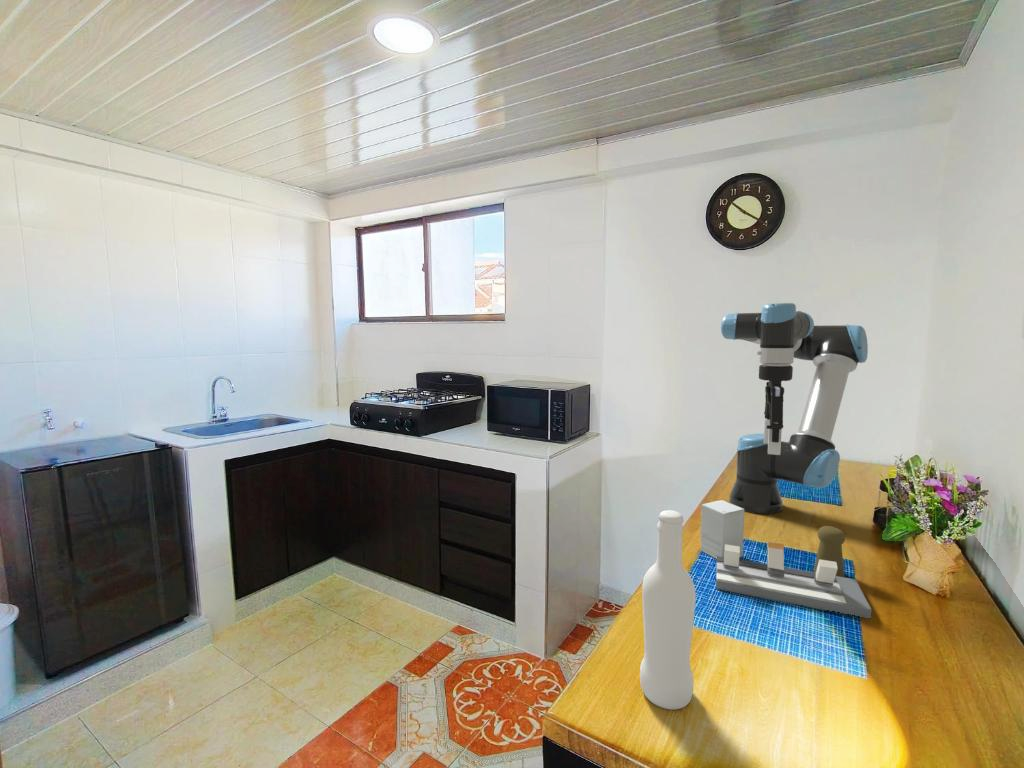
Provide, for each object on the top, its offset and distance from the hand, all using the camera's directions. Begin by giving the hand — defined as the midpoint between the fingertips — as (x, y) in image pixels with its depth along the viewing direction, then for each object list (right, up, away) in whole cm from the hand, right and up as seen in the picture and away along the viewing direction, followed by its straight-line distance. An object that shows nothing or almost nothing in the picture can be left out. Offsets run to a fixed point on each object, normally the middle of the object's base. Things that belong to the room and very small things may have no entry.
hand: (771, 448), depth 121 cm
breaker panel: (-7, -28, -18) cm, 35 cm away
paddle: (-9, -25, -18) cm, 32 cm away
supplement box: (-14, -27, -2) cm, 30 cm away
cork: (+6, -28, -13) cm, 31 cm away
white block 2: (-1, -25, -22) cm, 33 cm away
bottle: (-43, -33, -47) cm, 72 cm away
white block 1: (-17, -25, -14) cm, 33 cm away
